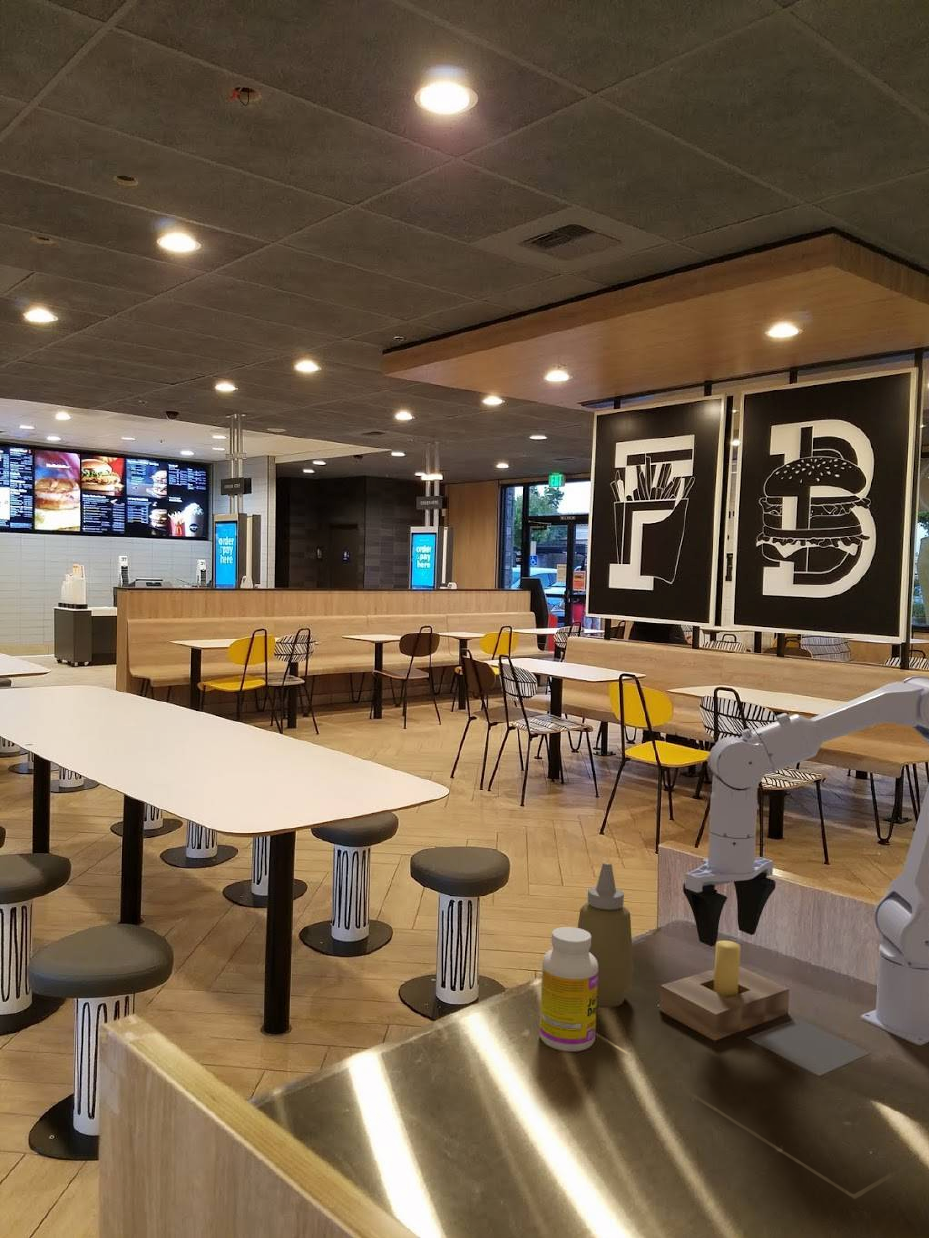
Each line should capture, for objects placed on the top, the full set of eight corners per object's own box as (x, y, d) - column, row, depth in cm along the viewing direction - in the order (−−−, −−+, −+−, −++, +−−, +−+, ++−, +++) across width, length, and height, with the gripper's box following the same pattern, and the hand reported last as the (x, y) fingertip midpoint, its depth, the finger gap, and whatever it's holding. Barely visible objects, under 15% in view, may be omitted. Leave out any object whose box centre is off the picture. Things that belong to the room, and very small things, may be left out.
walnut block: (731, 988, 125) (733, 963, 125) (787, 1015, 118) (789, 988, 118) (659, 1012, 118) (660, 985, 117) (714, 1042, 110) (715, 1014, 110)
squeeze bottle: (641, 996, 122) (647, 862, 121) (617, 1019, 115) (624, 878, 114) (586, 980, 126) (591, 851, 126) (560, 1001, 119) (565, 865, 119)
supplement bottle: (593, 1057, 106) (597, 947, 105) (536, 1049, 107) (540, 941, 106) (596, 1030, 112) (601, 926, 112) (542, 1023, 113) (546, 920, 113)
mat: (797, 1020, 117) (798, 1017, 117) (870, 1055, 108) (870, 1052, 108) (746, 1039, 111) (746, 1037, 111) (818, 1078, 103) (818, 1075, 103)
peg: (722, 1006, 120) (726, 938, 119) (741, 1016, 117) (745, 946, 117) (707, 1012, 118) (711, 943, 118) (726, 1021, 116) (730, 951, 115)
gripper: (744, 818, 124) (739, 917, 125) (669, 831, 116) (664, 937, 117) (788, 831, 118) (783, 934, 119) (712, 846, 110) (707, 957, 111)
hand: (727, 937), depth 117 cm, fingers open, 7 cm apart
